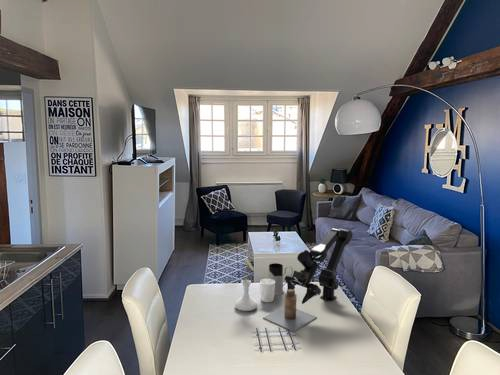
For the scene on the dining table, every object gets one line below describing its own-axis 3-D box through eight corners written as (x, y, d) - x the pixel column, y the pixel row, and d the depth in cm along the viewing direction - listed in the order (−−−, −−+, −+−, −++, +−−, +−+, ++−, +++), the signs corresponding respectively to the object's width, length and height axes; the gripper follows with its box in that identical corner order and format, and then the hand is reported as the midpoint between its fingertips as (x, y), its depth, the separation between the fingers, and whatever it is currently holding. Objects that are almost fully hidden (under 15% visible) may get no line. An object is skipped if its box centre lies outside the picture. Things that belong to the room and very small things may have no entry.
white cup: (275, 296, 204) (275, 278, 203) (274, 303, 197) (275, 284, 195) (260, 296, 205) (260, 278, 204) (259, 302, 197) (259, 284, 196)
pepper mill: (293, 313, 184) (294, 288, 182) (297, 319, 179) (298, 292, 177) (282, 315, 183) (283, 289, 181) (286, 320, 178) (287, 293, 176)
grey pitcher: (265, 289, 214) (265, 263, 211) (288, 286, 218) (289, 261, 216) (270, 295, 205) (271, 269, 203) (295, 292, 210) (295, 266, 207)
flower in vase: (257, 313, 186) (257, 263, 182) (234, 313, 186) (233, 263, 182) (257, 301, 199) (257, 255, 195) (235, 301, 199) (235, 254, 195)
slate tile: (286, 306, 193) (286, 305, 193) (316, 318, 181) (316, 316, 181) (263, 318, 181) (263, 317, 180) (293, 332, 168) (293, 331, 168)
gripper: (286, 259, 189) (271, 287, 184) (318, 268, 176) (302, 299, 170) (296, 270, 196) (282, 297, 190) (327, 280, 183) (313, 309, 177)
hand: (294, 300), depth 182 cm, fingers open, 9 cm apart
